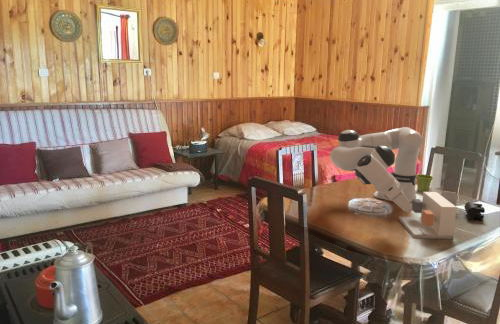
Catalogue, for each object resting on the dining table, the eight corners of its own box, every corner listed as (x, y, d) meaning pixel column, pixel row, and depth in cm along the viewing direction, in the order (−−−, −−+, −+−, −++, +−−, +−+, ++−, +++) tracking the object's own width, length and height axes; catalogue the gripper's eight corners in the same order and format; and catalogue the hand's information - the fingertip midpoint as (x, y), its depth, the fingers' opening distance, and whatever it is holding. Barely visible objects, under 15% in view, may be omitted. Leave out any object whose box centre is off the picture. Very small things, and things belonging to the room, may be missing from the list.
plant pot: (430, 189, 248) (432, 175, 246) (432, 193, 239) (433, 178, 237) (414, 187, 251) (415, 173, 249) (415, 191, 242) (416, 177, 240)
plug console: (413, 237, 174) (417, 206, 171) (398, 219, 195) (401, 191, 192) (452, 239, 173) (456, 207, 170) (433, 220, 194) (436, 192, 192)
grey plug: (415, 212, 189) (416, 202, 188) (411, 209, 193) (412, 199, 192) (425, 213, 188) (426, 202, 187) (421, 209, 193) (422, 199, 192)
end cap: (463, 213, 205) (465, 200, 204) (479, 215, 203) (481, 202, 201) (466, 220, 196) (468, 206, 195) (483, 222, 194) (485, 208, 192)
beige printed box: (454, 212, 206) (456, 193, 204) (439, 210, 209) (441, 191, 207) (455, 211, 209) (457, 192, 207) (440, 208, 212) (443, 189, 210)
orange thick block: (425, 225, 173) (426, 214, 172) (421, 221, 178) (422, 210, 177) (436, 225, 173) (437, 214, 172) (432, 221, 178) (433, 210, 177)
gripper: (376, 185, 183) (397, 207, 185) (389, 199, 163) (411, 223, 165) (388, 175, 182) (408, 197, 183) (401, 188, 162) (424, 213, 163)
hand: (409, 210), depth 174 cm, fingers closed
